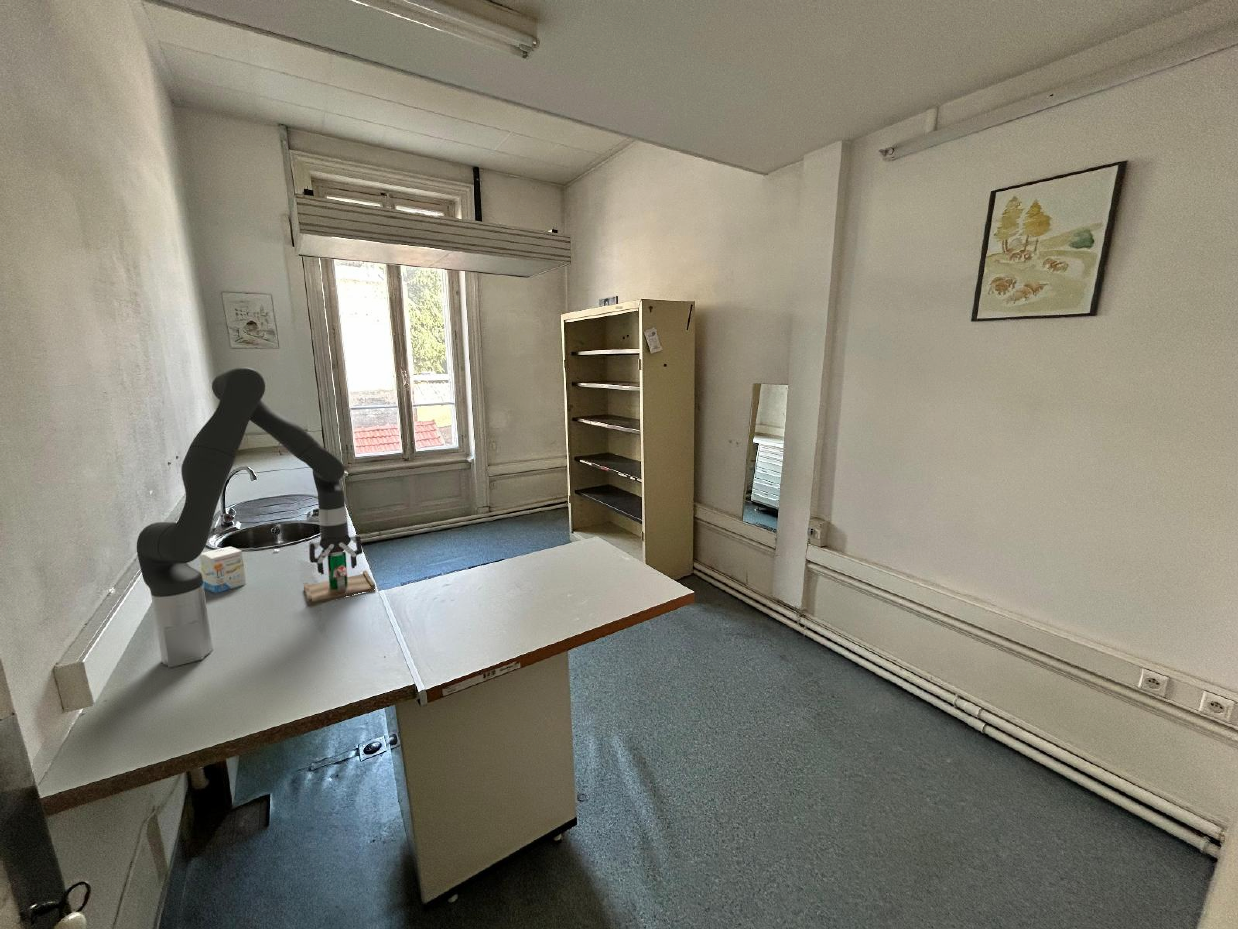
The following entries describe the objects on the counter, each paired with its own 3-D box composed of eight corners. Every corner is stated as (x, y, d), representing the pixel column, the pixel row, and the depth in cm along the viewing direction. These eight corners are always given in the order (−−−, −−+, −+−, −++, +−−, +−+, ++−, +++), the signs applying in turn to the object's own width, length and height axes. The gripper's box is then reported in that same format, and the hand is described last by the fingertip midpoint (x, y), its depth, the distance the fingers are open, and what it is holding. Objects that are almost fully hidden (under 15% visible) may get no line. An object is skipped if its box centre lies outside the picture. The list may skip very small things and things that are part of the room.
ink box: (215, 594, 150) (210, 558, 148) (203, 588, 154) (198, 553, 152) (247, 584, 157) (242, 550, 155) (234, 578, 162) (230, 545, 160)
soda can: (335, 591, 150) (332, 554, 148) (326, 587, 153) (323, 551, 151) (351, 585, 154) (348, 549, 152) (342, 582, 157) (340, 546, 155)
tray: (375, 590, 154) (374, 572, 153) (308, 606, 143) (306, 586, 142) (366, 576, 165) (365, 559, 164) (304, 589, 154) (302, 571, 153)
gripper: (307, 528, 143) (312, 579, 145) (361, 520, 151) (365, 569, 154) (305, 522, 148) (310, 572, 151) (356, 514, 157) (360, 562, 160)
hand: (338, 570), depth 153 cm, fingers open, 8 cm apart
